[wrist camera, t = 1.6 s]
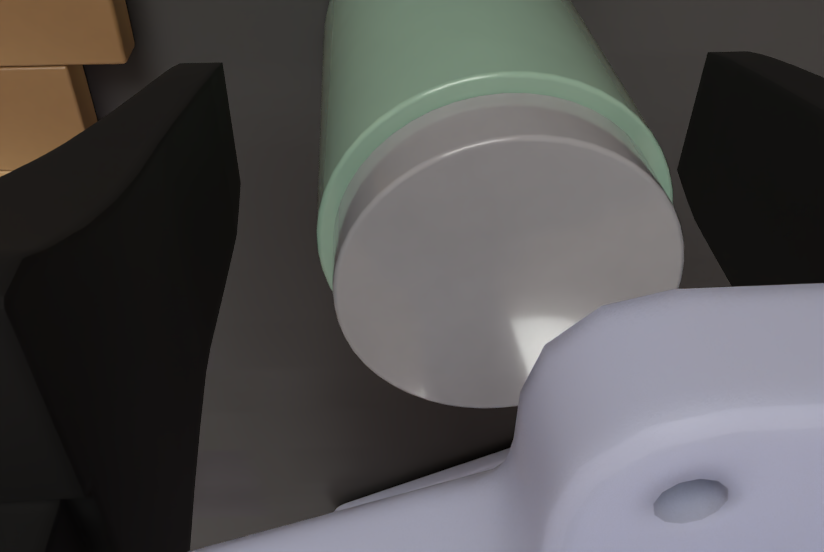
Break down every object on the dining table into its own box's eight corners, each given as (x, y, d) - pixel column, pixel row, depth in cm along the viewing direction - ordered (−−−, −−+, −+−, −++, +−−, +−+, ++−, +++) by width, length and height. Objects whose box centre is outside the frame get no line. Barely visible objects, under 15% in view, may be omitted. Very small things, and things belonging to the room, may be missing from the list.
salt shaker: (594, 92, 15) (734, 348, 10) (388, 181, 16) (412, 458, 11) (518, -136, 13) (654, 43, 7) (277, -15, 14) (236, 224, 8)
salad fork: (229, 466, 22) (226, 491, 21) (41, 476, 21) (32, 501, 21) (39, -399, 10) (19, -401, 10) (-373, -405, 10) (-420, -407, 9)
